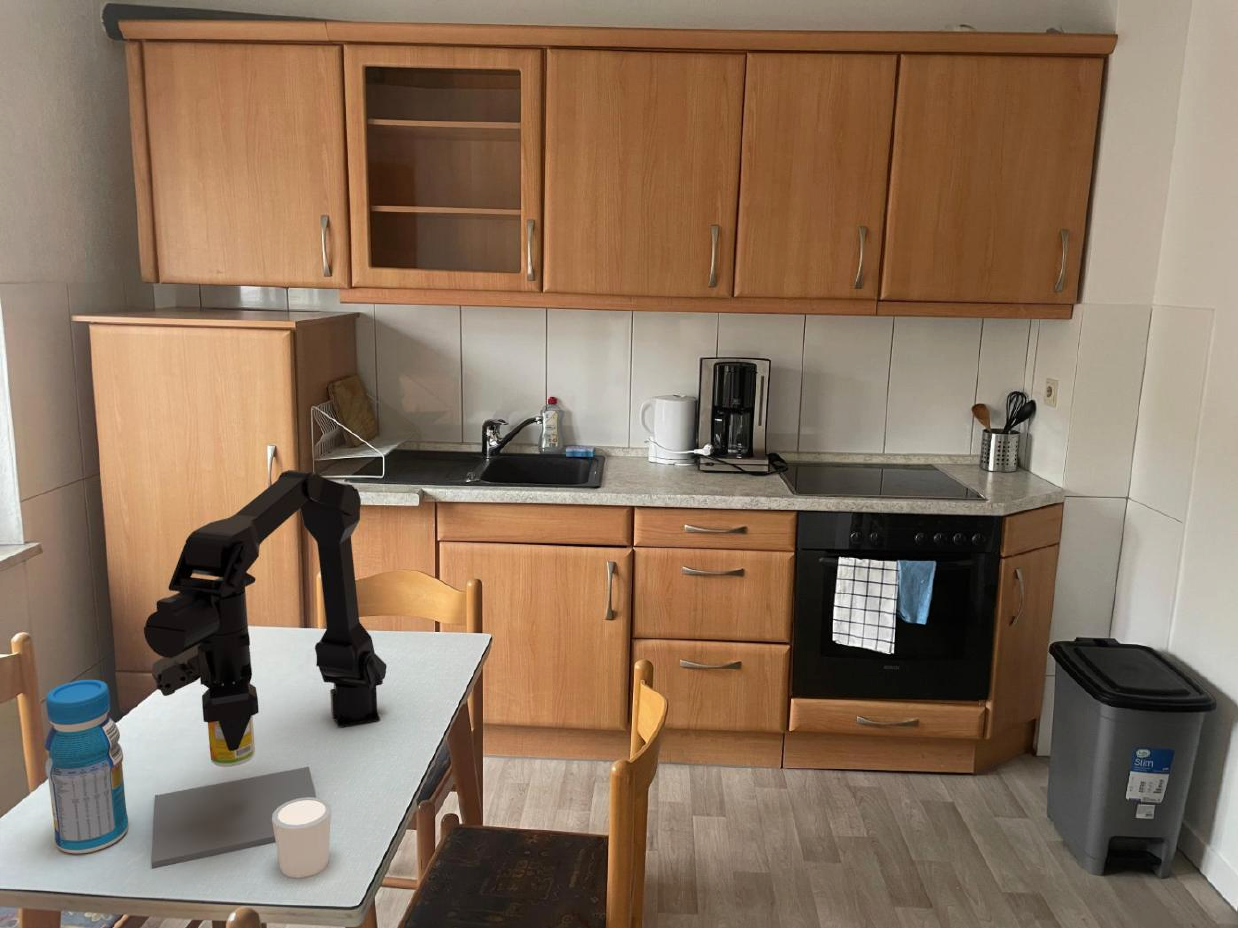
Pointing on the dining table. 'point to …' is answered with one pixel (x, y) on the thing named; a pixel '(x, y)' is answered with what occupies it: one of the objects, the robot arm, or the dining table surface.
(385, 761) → the dining table surface
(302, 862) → the cream cup
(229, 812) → the charcoal mat
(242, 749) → the supplement bottle
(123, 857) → the dining table surface
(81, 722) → the beverage bottle
